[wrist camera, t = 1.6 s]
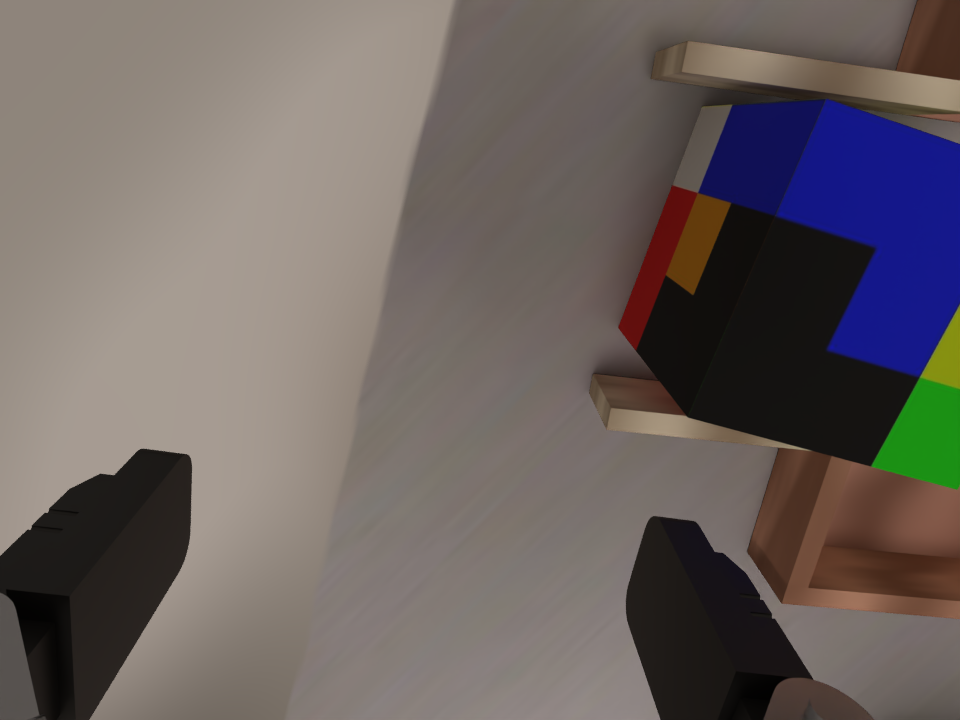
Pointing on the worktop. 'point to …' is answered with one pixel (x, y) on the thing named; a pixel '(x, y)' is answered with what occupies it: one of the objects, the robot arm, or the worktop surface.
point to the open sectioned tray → (800, 472)
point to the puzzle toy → (811, 285)
